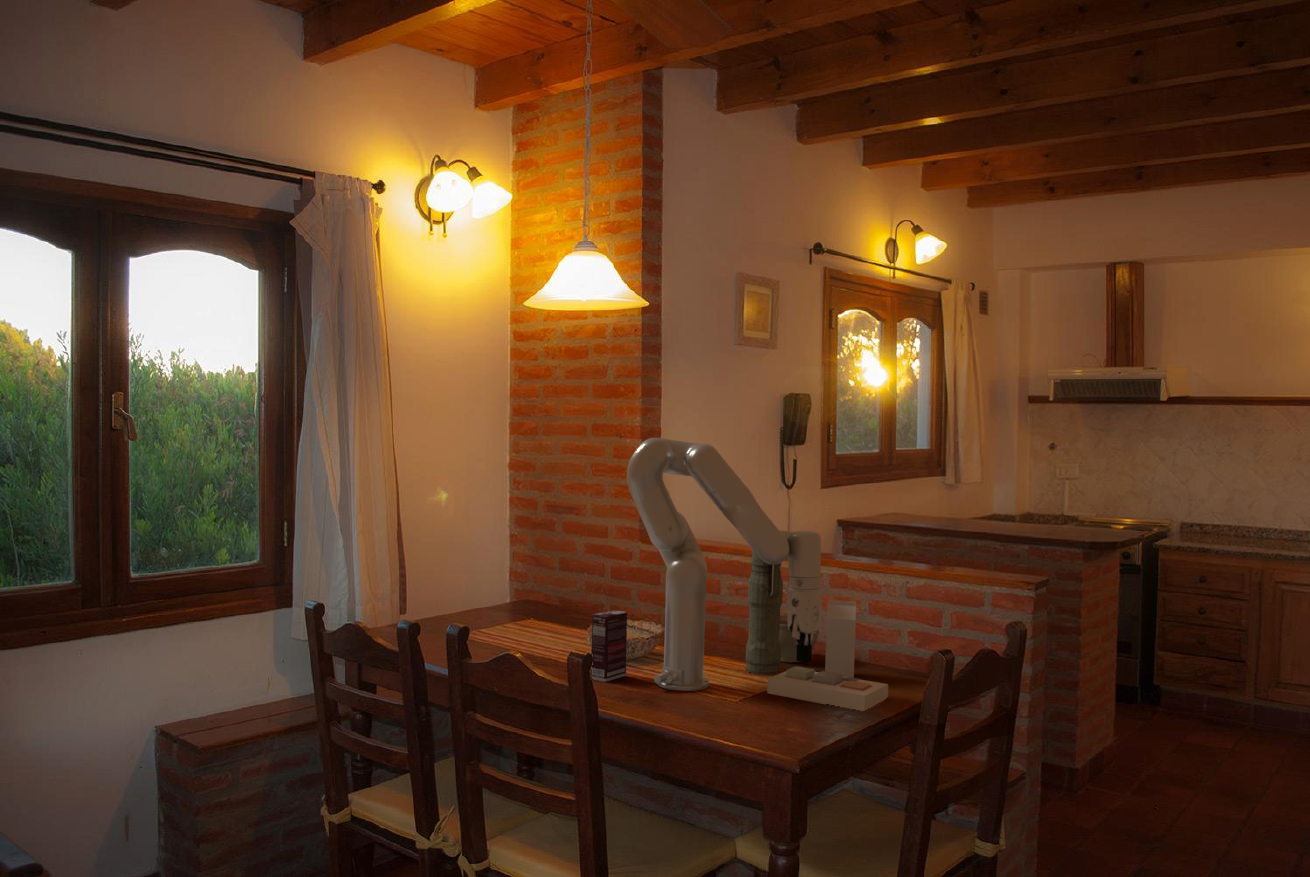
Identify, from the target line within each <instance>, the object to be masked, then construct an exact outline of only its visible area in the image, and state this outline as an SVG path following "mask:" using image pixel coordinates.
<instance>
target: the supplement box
mask: <svg viewBox="0 0 1310 877" xmlns="http://www.w3.org/2000/svg"><path fill="white" fill-rule="evenodd" d="M591 623H592V624H591V652H590V653H591V654H593V665H592V669H591V668H590V676H591V675H592V679H593V681H597V682H602V683H607V682H610V681H614V680H618V679H620V678H623V677H626V676H627V635H628V630H627V629H628V612H627V611H624V610H623V611H622V610H608V611H603V612H598V613H592V617H591ZM592 679H591V680H592Z"/></svg>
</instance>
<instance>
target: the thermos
mask: <svg viewBox="0 0 1310 877" xmlns="http://www.w3.org/2000/svg"><path fill="white" fill-rule="evenodd" d="M781 567H782V563H780V564H776V565H772V564H768V563H766V562H764V561H763V560H762V559H761V558H760V557H759V556H758V555H757V553H756V552H755V551H754V550H753V549H752V548H751V572H750V573H751V574H750V577H749V579H748V589H747V590H748V592H747V593H748V594H747V602H748V606H749V610H748V611H749V612H748V614H749V615H748V616H749V617H748V639H747V642H746V645H745V663H746V667H745V671H746V670H747V671H749V672H751V673H750V674H752V673H754V674H753V675H758V674H762V675H761V676H772V675H771V674H775V675H777V674H776V673H778V674H780V670H781V669H780V664H781V662H782V661H781V644H780V641H779V630H780V615H781V607H782V605H783V595H784V594H783V592H784V581H783V579H782V571H781ZM747 671H746V672H747ZM749 672H748V673H749Z"/></svg>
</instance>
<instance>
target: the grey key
mask: <svg viewBox="0 0 1310 877" xmlns="http://www.w3.org/2000/svg"><path fill="white" fill-rule="evenodd" d="M818 672H819V673H816V674H814V676H813V682H816V683H822V684H827V685H833V686H835V685H837V684H840V683H842V674H838V673H832V672H826V671H825V670H821V671H818Z"/></svg>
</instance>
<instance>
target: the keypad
mask: <svg viewBox="0 0 1310 877" xmlns="http://www.w3.org/2000/svg"><path fill="white" fill-rule="evenodd" d="M819 672H820V671H815V674H816V673H819ZM848 681H855V682H861V683H867V684H871V687H870V688H868V689H866V690H864V691H861V690H855V689H849V688H844V687H841V685H842V684H844V683H846V682H848ZM766 692H767V694H771V695H774V696H780V697H786V698H790V699H796V700H800V701H807V702H811V703H817V704H822V705H826V704H830V705H829V706H831V705H835V706H834V707H837V706H840V707H839V708H842V707H846V708H845V709H847V708H851V709H850V710H852V709H856V710H855V711H857V710H862V711H861V712H863V711H865V710H867V709H868V708H870V707H871V706H873V705H874V704H877V703H879V702H881V701H882V700H884V699H886V698H887V697H888V698H889V684H888V683H882V682H878V681H873V680H872V681H871V680H864V679H860V678H856V677H854V678H851V677H846V676H842V683H840V684H837V685H835V686H833V685H827V684H822V683H816V682H813V678H812V679H810V680H807V681H805V680H799V679H794V678H788V677H786V671H783V672H781V673H778V674H775V675H773V676H770V677H768V678H767V690H766ZM870 709H871V708H870ZM867 711H868V710H867ZM865 712H866V711H865Z"/></svg>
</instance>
